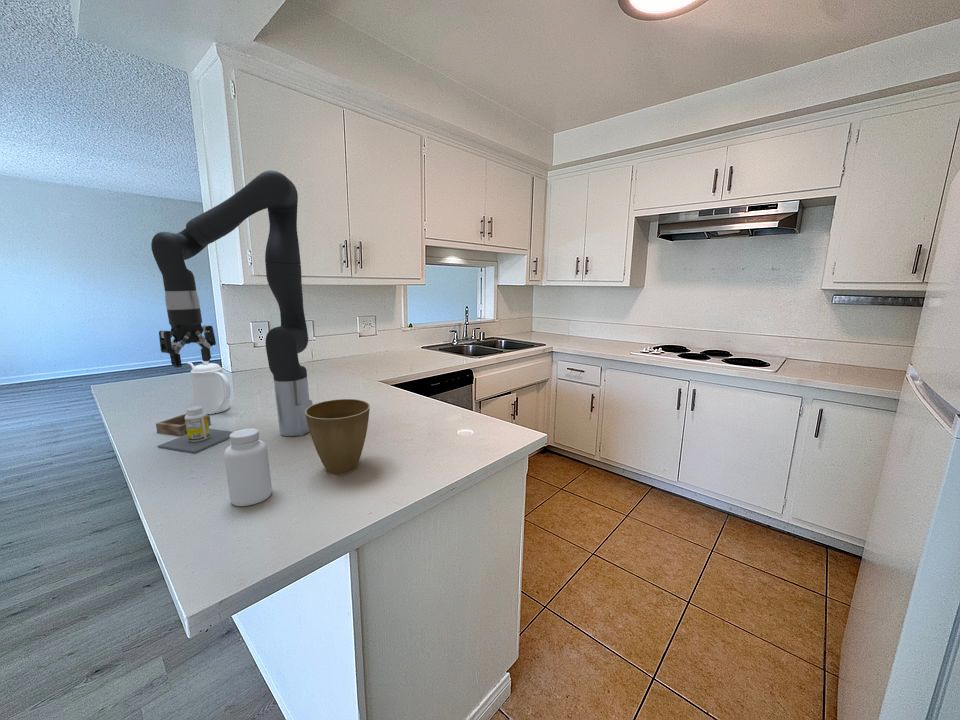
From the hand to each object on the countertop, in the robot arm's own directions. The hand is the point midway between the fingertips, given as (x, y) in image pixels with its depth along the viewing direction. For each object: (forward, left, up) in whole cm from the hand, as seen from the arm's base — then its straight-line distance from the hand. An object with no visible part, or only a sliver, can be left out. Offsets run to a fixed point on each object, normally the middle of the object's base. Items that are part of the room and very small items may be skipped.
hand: (192, 363), depth 112 cm
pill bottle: (-41, +22, -23) cm, 52 cm away
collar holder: (+13, -4, -23) cm, 27 cm away
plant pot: (-52, +5, -23) cm, 57 cm away
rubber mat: (-1, +2, -23) cm, 23 cm away
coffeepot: (+21, -20, -23) cm, 37 cm away
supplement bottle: (-1, +2, -22) cm, 23 cm away
